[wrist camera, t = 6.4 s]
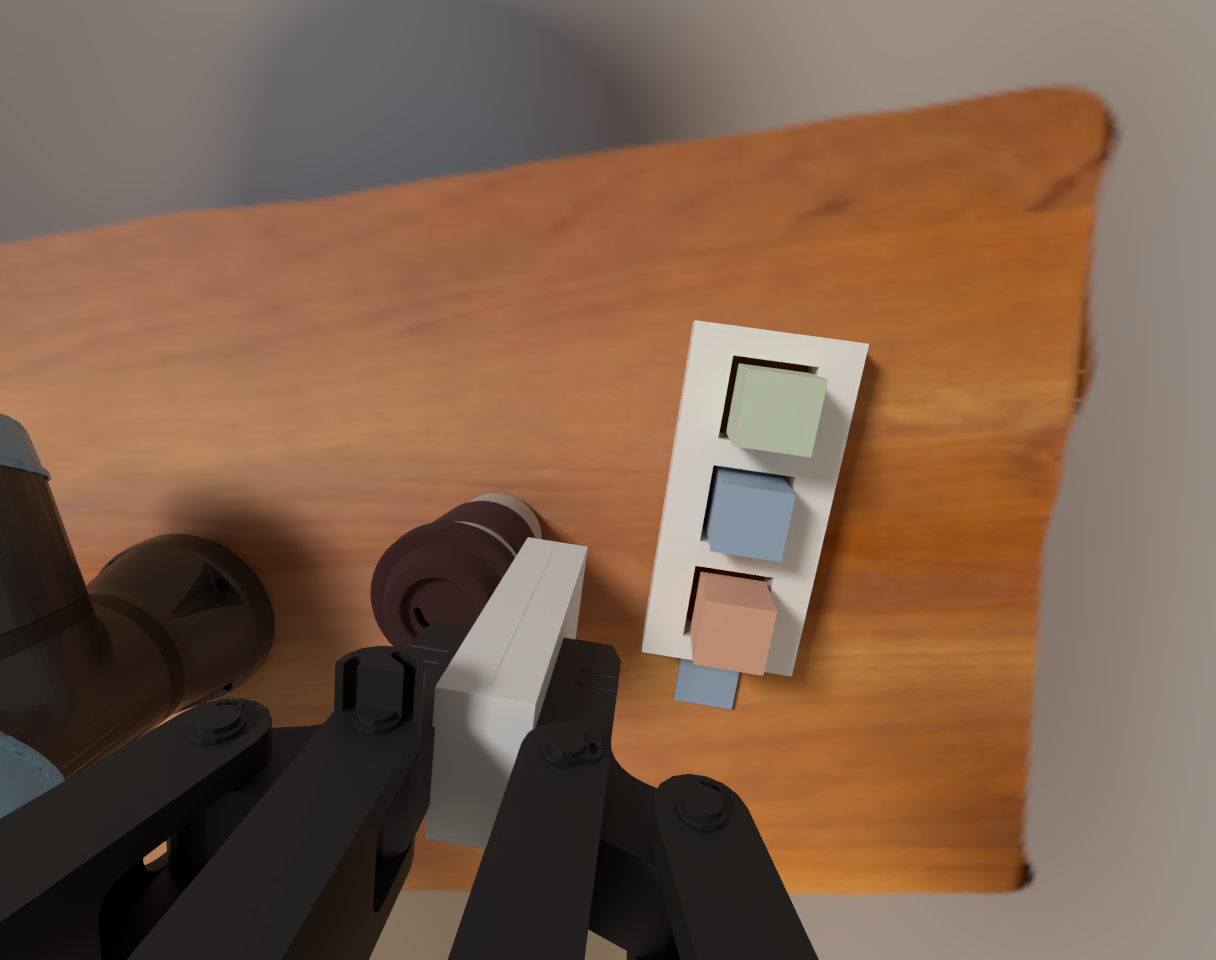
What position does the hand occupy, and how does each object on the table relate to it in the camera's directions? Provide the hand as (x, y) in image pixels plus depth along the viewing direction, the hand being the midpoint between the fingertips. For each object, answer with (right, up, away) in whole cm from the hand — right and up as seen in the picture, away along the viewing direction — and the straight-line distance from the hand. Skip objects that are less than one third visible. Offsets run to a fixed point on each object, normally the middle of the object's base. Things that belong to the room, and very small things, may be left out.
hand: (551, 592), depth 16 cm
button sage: (+13, +8, +29) cm, 33 cm away
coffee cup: (-8, -2, +37) cm, 38 cm away
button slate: (+12, +1, +33) cm, 35 cm away
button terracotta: (+11, -7, +34) cm, 36 cm away
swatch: (+10, -14, +38) cm, 42 cm away
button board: (+12, +1, +34) cm, 36 cm away
